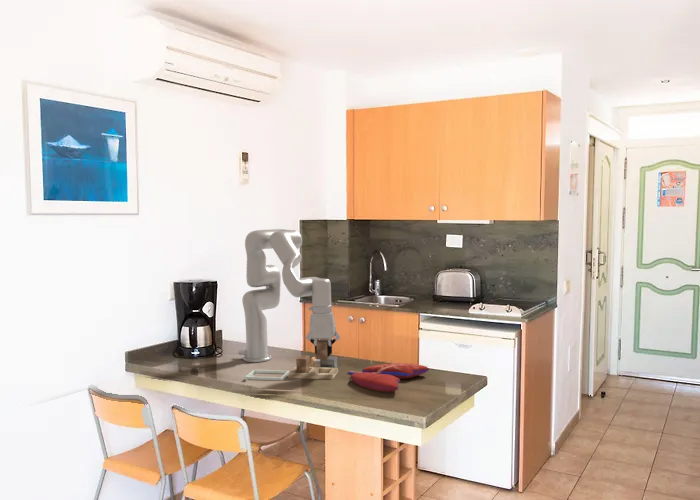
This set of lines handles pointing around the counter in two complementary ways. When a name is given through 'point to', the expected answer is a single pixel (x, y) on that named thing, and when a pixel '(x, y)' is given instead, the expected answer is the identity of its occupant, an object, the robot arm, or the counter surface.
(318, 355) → the block
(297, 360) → the block
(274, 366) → the counter surface
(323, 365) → the grey metal housing
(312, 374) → the pallet
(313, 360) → the plunger
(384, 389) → the anatomical model
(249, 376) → the tote
